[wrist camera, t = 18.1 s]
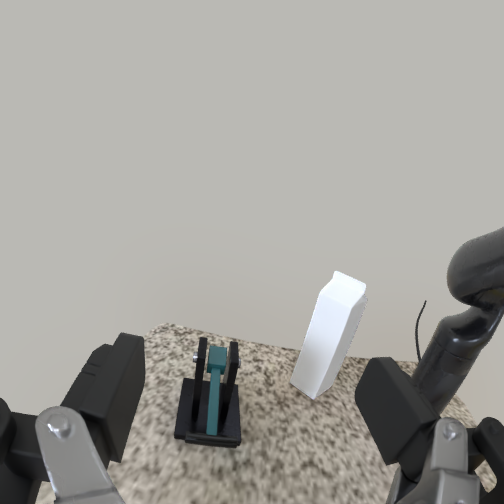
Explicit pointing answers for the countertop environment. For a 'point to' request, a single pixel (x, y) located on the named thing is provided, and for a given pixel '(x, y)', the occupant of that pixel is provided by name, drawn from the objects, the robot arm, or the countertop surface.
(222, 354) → the lever
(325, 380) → the milk
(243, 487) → the countertop surface
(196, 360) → the bracket
